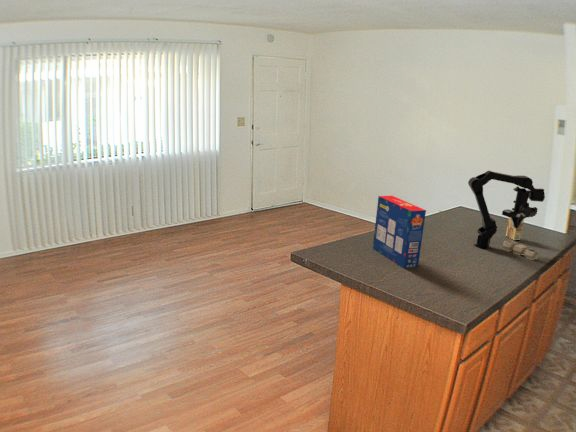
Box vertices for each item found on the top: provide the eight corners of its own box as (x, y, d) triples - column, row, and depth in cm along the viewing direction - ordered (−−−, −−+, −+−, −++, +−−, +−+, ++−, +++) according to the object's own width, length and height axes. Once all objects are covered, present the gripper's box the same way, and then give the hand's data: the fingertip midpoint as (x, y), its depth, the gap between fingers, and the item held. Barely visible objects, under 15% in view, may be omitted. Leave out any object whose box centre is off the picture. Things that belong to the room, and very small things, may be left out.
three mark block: (531, 260, 261) (533, 252, 260) (523, 257, 265) (525, 249, 264) (537, 259, 263) (539, 251, 262) (529, 256, 267) (531, 248, 266)
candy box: (520, 241, 292) (525, 215, 288) (513, 241, 292) (518, 215, 288) (511, 236, 301) (516, 211, 297) (504, 236, 300) (509, 211, 296)
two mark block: (509, 251, 273) (510, 243, 272) (502, 248, 277) (503, 240, 276) (514, 250, 275) (516, 242, 274) (508, 248, 279) (509, 240, 278)
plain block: (519, 256, 267) (521, 248, 266) (512, 253, 271) (514, 245, 270) (525, 255, 269) (527, 247, 268) (518, 252, 273) (520, 244, 272)
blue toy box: (417, 267, 242) (425, 210, 234) (403, 268, 239) (411, 211, 231) (385, 247, 267) (392, 195, 259) (372, 248, 264) (378, 196, 256)
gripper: (520, 204, 258) (515, 234, 263) (547, 203, 266) (541, 231, 270) (503, 199, 268) (498, 227, 272) (529, 197, 276) (524, 225, 280)
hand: (516, 228), depth 274 cm, fingers closed
